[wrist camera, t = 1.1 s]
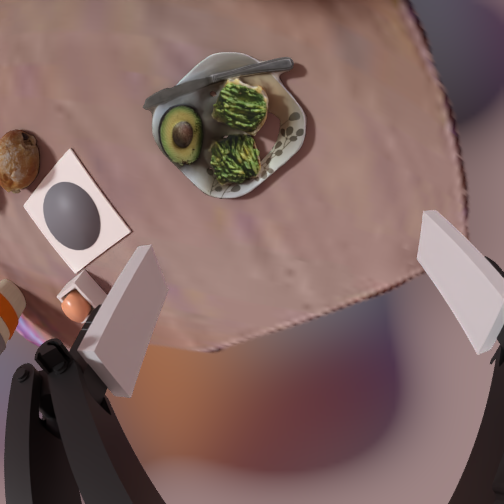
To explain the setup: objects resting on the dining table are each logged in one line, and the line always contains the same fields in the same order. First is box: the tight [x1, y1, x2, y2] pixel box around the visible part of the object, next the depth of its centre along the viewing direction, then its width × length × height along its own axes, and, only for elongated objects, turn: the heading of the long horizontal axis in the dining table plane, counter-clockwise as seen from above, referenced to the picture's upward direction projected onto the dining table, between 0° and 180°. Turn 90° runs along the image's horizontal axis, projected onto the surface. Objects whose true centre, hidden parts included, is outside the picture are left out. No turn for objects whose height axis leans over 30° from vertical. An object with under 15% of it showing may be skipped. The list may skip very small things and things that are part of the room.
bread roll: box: [0, 130, 39, 193], centre depth 32 cm, size 10×10×8 cm
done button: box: [62, 290, 92, 322], centre depth 43 cm, size 5×5×3 cm
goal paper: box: [24, 148, 131, 274], centre depth 39 cm, size 16×16×1 cm
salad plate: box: [143, 52, 307, 199], centre depth 31 cm, size 19×18×5 cm
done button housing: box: [57, 270, 107, 323], centre depth 46 cm, size 7×7×4 cm
